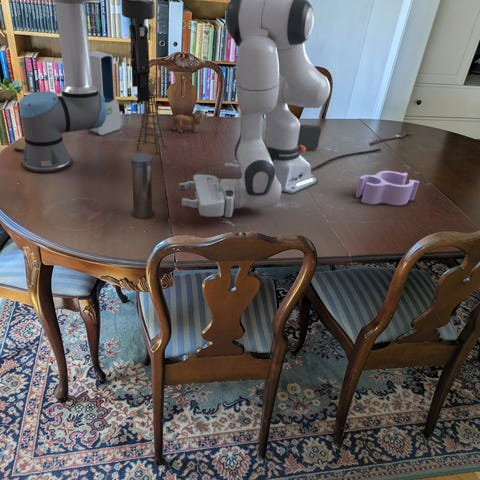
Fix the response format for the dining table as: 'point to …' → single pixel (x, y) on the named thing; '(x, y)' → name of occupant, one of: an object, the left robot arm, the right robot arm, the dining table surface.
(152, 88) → the miniature windmill
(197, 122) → the lion figurine
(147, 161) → the lid
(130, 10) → the left robot arm
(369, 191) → the clip
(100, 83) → the electronic device
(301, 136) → the handheld gaming console
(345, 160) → the dining table surface
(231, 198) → the right robot arm
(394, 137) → the sword
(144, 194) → the jar
